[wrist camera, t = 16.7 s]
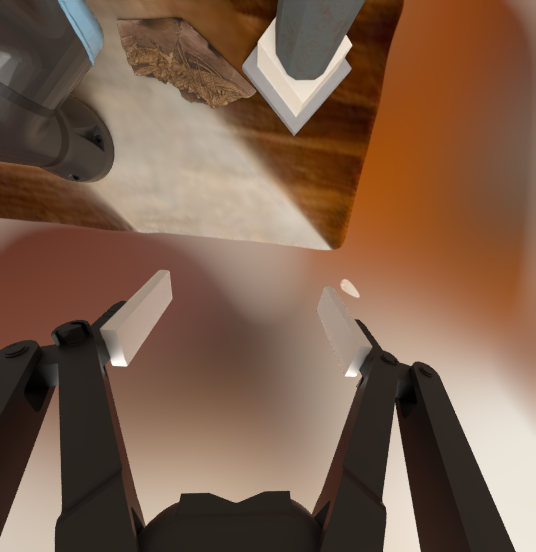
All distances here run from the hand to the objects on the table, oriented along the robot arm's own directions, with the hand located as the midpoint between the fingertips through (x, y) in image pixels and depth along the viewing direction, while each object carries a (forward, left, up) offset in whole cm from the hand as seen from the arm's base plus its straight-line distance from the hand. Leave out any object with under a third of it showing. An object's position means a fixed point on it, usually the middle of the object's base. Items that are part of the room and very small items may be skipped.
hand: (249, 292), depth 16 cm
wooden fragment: (-30, +15, -36) cm, 49 cm away
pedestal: (-15, +29, -35) cm, 48 cm away
